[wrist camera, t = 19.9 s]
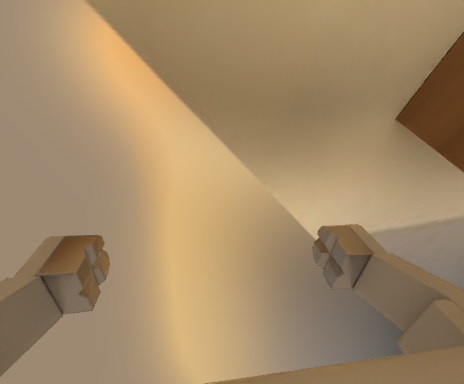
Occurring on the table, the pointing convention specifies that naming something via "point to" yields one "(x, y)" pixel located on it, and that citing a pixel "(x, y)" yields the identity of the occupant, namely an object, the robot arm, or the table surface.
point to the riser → (441, 108)
